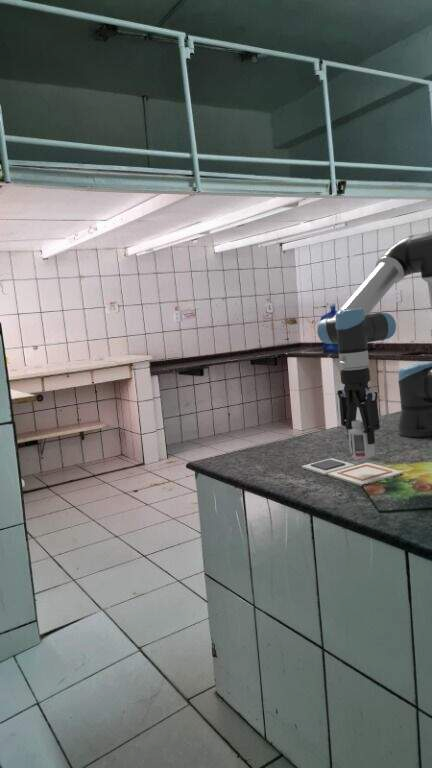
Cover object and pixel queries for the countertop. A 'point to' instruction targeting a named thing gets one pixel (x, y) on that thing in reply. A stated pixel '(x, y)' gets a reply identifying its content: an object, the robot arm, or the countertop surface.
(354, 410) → the robot arm
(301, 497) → the countertop surface
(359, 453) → the pill bottle
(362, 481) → the print card
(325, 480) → the countertop surface
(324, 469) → the ink pad
